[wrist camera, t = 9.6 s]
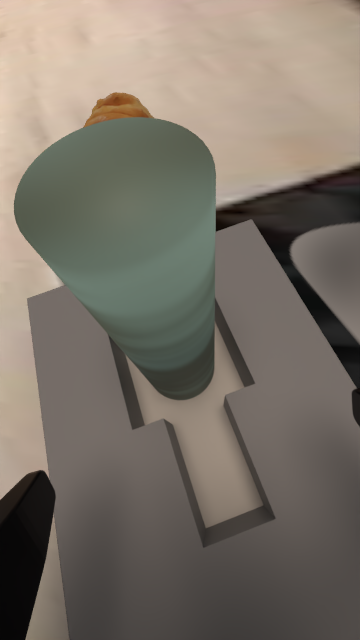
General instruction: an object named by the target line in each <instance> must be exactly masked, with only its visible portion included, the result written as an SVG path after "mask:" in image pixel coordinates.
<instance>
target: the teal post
mask: <svg viewBox="0 0 360 640" xmlns="http://www.w3.org/2000/svg"><path fill="white" fill-rule="evenodd" d="M215 210H216V172H215V164H214V161H213V157H212V155H211V153H210V151H209V149H208V148H207V146H206V145H205V144H204V142H203V141H202V140H201V139H200V138H199V137H198V136H196V135H195V134H194V133H192V132H191V131H189V130H188V129H186V128H184V127H182V126H180V125H177V124H175V123H172V122H169V121H165V120H161V119H154V118H144V117H130V118H119V119H113V120H108V121H103V122H99V123H96V124H92V125H90V126H87V127H84V128H81V129H79V130H77V131H75V132H73V133H71V134H69V135H67V136H65V137H63V138H62V139H60V140H58V141H57V142H55V143H54V144H52V145H51V146H50V147H49V148H47V149H46V150H45V151H44V152H42V153H41V154H40V155H39V156H38V157H37V158H36V159H35V160H34V162H33V163H32V164H31V165H30V166H29V168H28V169H27V171H26V172H25V174H24V175H23V177H22V179H21V181H20V183H19V185H18V188H17V191H16V194H15V200H14V215H15V219H16V223H17V225H18V227H19V230H20V232H21V233H22V234H23V236H24V237H25V239H26V240H27V241H28V242H29V243H30V245H31V246H32V247H33V248H34V249H35V250H36V251H37V253H38V254H39V255H40V256H41V257H42V258H43V260H44V261H45V262H46V263H47V264H48V265H49V267H50V268H51V269H52V270H53V271H54V272H55V273H56V275H57V276H58V277H59V278H60V279H61V280H62V282H63V283H64V284H65V285H66V286H67V287H68V289H69V290H70V291H71V292H72V293H73V294H74V295H75V297H76V298H77V299H78V300H79V301H80V302H81V304H82V305H83V306H84V307H85V308H86V309H87V310H88V312H89V313H90V314H91V315H92V316H93V317H94V319H95V320H96V321H97V322H98V323H99V324H100V326H101V327H102V328H103V329H104V330H105V331H106V332H107V334H108V335H109V336H110V337H111V338H112V339H113V341H114V342H115V343H116V344H117V345H118V346H119V348H120V349H121V350H122V351H123V352H124V353H125V354H126V356H127V357H128V358H129V359H130V360H131V361H132V363H133V364H134V365H135V366H136V367H137V368H138V369H139V371H140V372H141V373H142V374H143V375H144V376H145V378H146V379H147V380H148V381H149V382H150V383H151V385H152V386H153V387H154V388H155V389H156V390H157V391H158V392H159V393H160V394H161V395H163V396H165V397H167V398H169V399H173V400H188V399H191V398H194V397H196V396H198V395H199V394H201V393H202V392H203V391H204V390H205V389H206V388H207V387H208V385H209V384H210V382H211V380H212V378H213V374H214V358H215Z"/></svg>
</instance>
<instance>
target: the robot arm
mask: <svg viewBox="0 0 360 640" xmlns="http://www.w3.org/2000/svg"><path fill="white" fill-rule="evenodd" d="M352 412H353V417H354V419H355V421H356V423H357V424H358V425H359V427H360V388H356V389H354V390H353V391H352ZM55 501H56V493H55V490H54V488H53V486H52V484H51V482H50V480H49V478H48V476H47V474H46V473H45V472H44V471H43V470H39V471H35V472H31V473H28V474H27V475H26V476H25V477H24V478H22V479H21V480H20V481H19V482H18V483H17V484H16V485H15V486H14V487H13V488H12V489H11V490H10V491H9V492H8V493H7V494H6V495H5V496H4V497H3V498H2V499H1V500H0V640H25V639H26V635H27V631H28V627H29V623H30V619H31V615H32V612H33V608H34V604H35V600H36V596H37V592H38V588H39V584H40V580H41V576H42V573H43V568H44V564H45V560H46V555H47V549H48V543H49V537H50V531H51V525H52V519H53V513H54V507H55Z"/></svg>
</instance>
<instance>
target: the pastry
mask: <svg viewBox="0 0 360 640" xmlns="http://www.w3.org/2000/svg"><path fill="white" fill-rule="evenodd" d="M130 117H144V118H154V117H153V116H151V114H150V113H149V111H148V110H147V109H146V108H145V107H144V106H143V105H142V104H141V103H140V101H139V99H138V98H136V97H134V96H133V95H130V94H126V93H112V94H110V95H108V96H107V97H106V98H105V99H99V100H98V101H97V105H96V106H95V107H94V108H93V109H92V115H91V116H90V118H89V119H88V120H87V121H86V123H85V126H84V127H87V126H90V125H92V124H96V123H99V122H103V121H108V120H113V119H119V118H130ZM154 119H155V118H154ZM84 127H83V128H84Z"/></svg>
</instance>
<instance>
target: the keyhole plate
mask: <svg viewBox="0 0 360 640" xmlns="http://www.w3.org/2000/svg"><path fill="white" fill-rule="evenodd" d="M27 301H28V310H29V318H30V326H31V334H32V342H33V350H34V358H35V366H36V374H37V382H38V390H39V398H40V406H41V414H42V422H43V430H44V438H45V446H46V454H47V462H48V470H49V478H50V482H51V484H52V486H53V488H54V490H55V493H56V501H55V507H54V518H55V526H56V534H57V542H58V550H59V558H60V566H61V574H62V582H63V590H64V598H65V606H66V614H67V622H68V630H69V638H70V640H360V427H359V425H358V424H357V423H356V421H355V419H354V417H353V412H352V391H353V390H354V389H356V386H355V385H354V383H353V382H352V380H351V378H350V377H349V375H348V374H347V372H346V370H345V369H344V367H343V366H342V364H341V362H340V361H339V359H338V357H337V356H336V354H335V353H334V351H333V349H332V348H331V346H330V345H329V343H328V341H327V340H326V338H325V337H324V335H323V333H322V332H321V330H320V329H319V327H318V325H317V324H316V322H315V320H314V319H313V317H312V316H311V314H310V312H309V311H308V309H307V308H306V306H305V304H304V303H303V301H302V300H301V298H300V296H299V295H298V293H297V292H296V290H295V288H294V287H293V285H292V283H291V282H290V280H289V279H288V277H287V275H286V274H285V272H284V271H283V269H282V267H281V266H280V264H279V263H278V261H277V259H276V258H275V256H274V255H273V253H272V251H271V250H270V248H269V246H268V245H267V243H266V242H265V240H264V238H263V237H262V235H261V234H260V232H259V230H258V229H257V227H256V226H255V224H254V222H253V221H252V219H251V220H248V221H245V222H243V223H240V224H237V225H234V226H231V227H228V228H226V229H223V230H220V231H217V232H215V358H214V374H213V378H212V380H211V382H210V384H209V385H208V387H207V388H206V389H205V390H204V391H203V392H202V393H201V394H199V395H198V396H196V397H194V398H191V399H188V400H173V399H169V398H167V397H165V396H163V395H161V394H160V393H159V392H158V391H157V390H156V389H155V388H154V387H153V386H152V385H151V383H150V382H149V381H148V380H147V379H146V378H145V376H144V375H143V374H142V373H141V372H140V371H139V369H138V368H137V367H136V366H135V365H134V364H133V363H132V361H131V360H130V359H129V358H128V357H127V356H126V354H125V353H124V352H123V351H122V350H121V349H120V348H119V346H118V345H117V344H116V343H115V342H114V341H113V339H112V338H111V337H110V336H109V335H108V334H107V332H106V331H105V330H104V329H103V328H102V327H101V326H100V324H99V323H98V322H97V321H96V320H95V319H94V317H93V316H92V315H91V314H90V313H89V312H88V310H87V309H86V308H85V307H84V306H83V305H82V304H81V302H80V301H79V300H78V299H77V298H76V297H75V295H74V294H73V293H72V292H71V291H70V290H69V289H68V287H67V286H66V285H64V286H61V287H59V288H56V289H53V290H50V291H47V292H45V293H42V294H39V295H36V296H33V297H30V298H28V299H27Z"/></svg>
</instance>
